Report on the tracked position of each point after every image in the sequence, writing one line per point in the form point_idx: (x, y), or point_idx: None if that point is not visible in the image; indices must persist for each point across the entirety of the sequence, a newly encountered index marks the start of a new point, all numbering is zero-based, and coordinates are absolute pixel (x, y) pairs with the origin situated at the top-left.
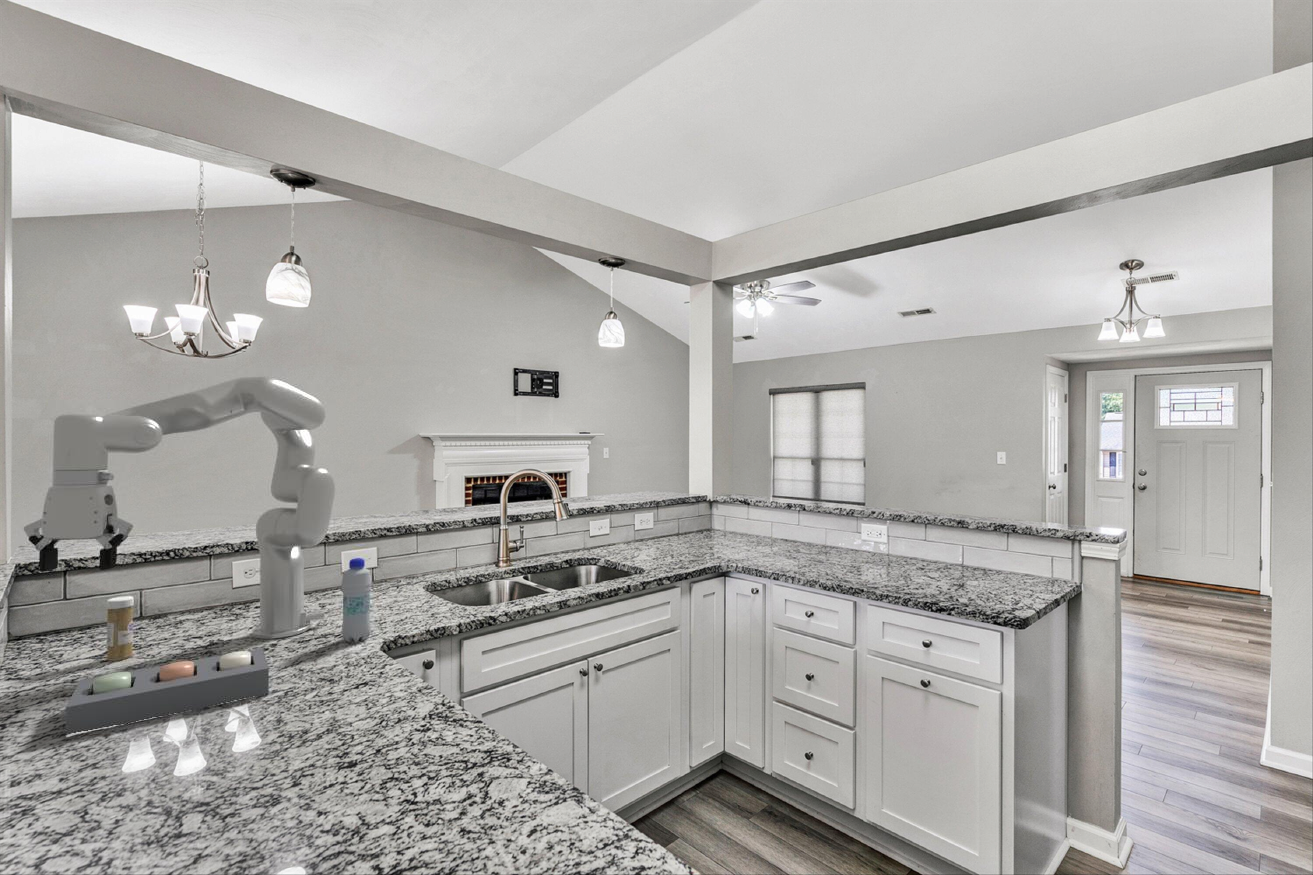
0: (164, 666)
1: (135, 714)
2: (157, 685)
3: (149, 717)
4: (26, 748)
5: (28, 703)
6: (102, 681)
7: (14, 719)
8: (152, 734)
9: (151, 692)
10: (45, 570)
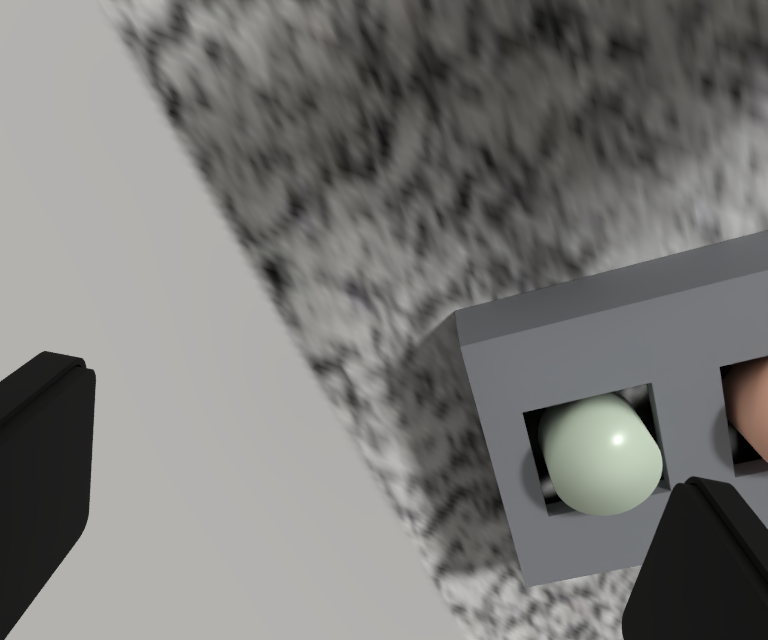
0: (766, 412)
1: None
2: (747, 502)
3: None
4: (446, 554)
5: (262, 204)
6: (586, 499)
7: (302, 342)
8: None
9: None
10: (86, 519)
